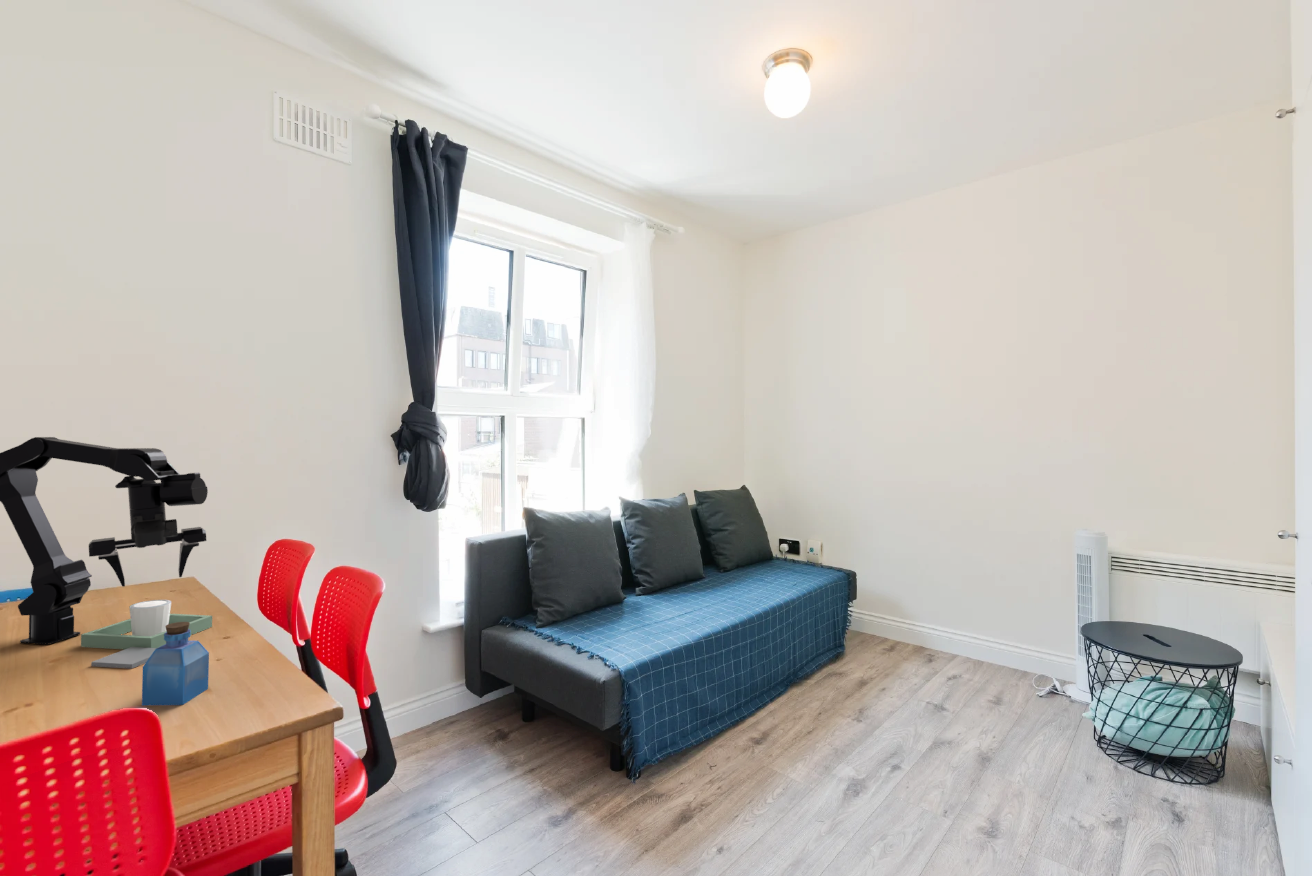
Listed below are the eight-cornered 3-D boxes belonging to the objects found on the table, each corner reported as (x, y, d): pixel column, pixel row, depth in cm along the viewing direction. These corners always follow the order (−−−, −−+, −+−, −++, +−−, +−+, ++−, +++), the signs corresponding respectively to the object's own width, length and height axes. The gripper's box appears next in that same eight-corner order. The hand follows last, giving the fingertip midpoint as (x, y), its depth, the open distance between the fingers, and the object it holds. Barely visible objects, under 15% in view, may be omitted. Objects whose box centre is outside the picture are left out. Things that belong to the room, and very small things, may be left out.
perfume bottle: (169, 689, 103) (171, 619, 103) (208, 688, 103) (209, 619, 103) (141, 705, 97) (143, 630, 96) (182, 705, 97) (184, 630, 97)
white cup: (146, 643, 123) (147, 609, 123) (119, 640, 125) (120, 606, 125) (179, 632, 130) (179, 600, 130) (153, 630, 132) (154, 598, 132)
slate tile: (91, 666, 111) (91, 662, 111) (132, 650, 119) (132, 646, 119) (131, 668, 111) (131, 664, 111) (169, 653, 119) (170, 648, 119)
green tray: (80, 646, 121) (81, 634, 121) (149, 623, 136) (149, 612, 136) (150, 650, 119) (151, 638, 119) (212, 626, 134) (212, 615, 134)
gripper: (85, 517, 115) (91, 598, 115) (206, 504, 127) (211, 578, 127) (87, 512, 123) (92, 588, 123) (201, 501, 135) (205, 570, 136)
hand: (152, 581), depth 127 cm, fingers open, 9 cm apart
